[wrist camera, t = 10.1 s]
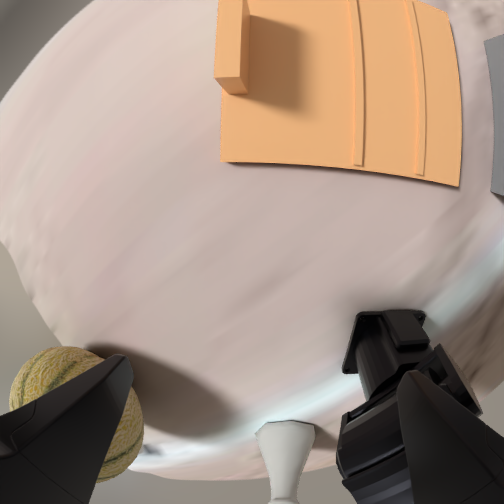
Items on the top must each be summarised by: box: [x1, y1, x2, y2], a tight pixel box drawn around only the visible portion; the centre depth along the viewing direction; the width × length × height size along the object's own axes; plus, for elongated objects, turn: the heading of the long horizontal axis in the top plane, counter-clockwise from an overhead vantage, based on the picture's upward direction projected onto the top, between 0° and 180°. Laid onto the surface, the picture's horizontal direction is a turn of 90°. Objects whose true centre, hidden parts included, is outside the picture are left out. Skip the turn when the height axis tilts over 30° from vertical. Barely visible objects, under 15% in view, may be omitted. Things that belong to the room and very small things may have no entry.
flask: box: [255, 421, 316, 504], centre depth 22 cm, size 7×7×10 cm
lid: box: [214, 0, 462, 186], centre depth 12 cm, size 15×17×5 cm
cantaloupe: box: [9, 346, 144, 483], centre depth 19 cm, size 15×15×15 cm
